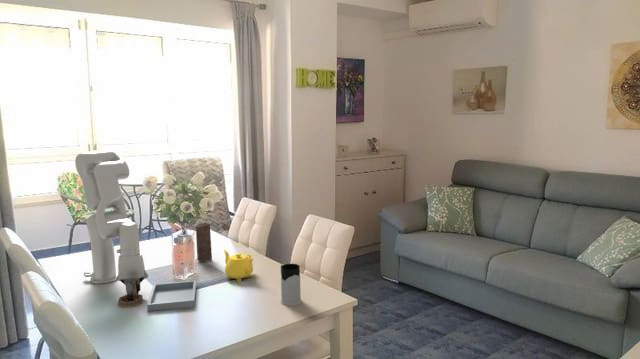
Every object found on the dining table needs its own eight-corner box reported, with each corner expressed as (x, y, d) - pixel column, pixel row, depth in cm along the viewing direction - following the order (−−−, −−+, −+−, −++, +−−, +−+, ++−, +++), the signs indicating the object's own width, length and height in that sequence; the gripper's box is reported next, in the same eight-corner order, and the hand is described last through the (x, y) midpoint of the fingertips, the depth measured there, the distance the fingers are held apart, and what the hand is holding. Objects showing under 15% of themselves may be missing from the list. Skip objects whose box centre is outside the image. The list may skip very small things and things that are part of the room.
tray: (147, 312, 188) (146, 304, 188) (154, 290, 210) (153, 284, 209) (194, 307, 192) (194, 300, 192) (196, 286, 213) (196, 280, 213)
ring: (116, 308, 192) (115, 291, 191) (123, 293, 206) (122, 278, 205) (140, 306, 194) (139, 289, 193) (145, 291, 208) (144, 276, 207)
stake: (123, 305, 194) (121, 281, 193) (125, 300, 199) (123, 277, 198) (136, 304, 195) (134, 280, 194) (138, 299, 200) (136, 276, 199)
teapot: (267, 276, 225) (266, 253, 223) (244, 286, 213) (243, 261, 212) (237, 267, 237) (236, 245, 235) (214, 276, 225) (213, 253, 224)
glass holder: (285, 307, 191) (284, 271, 189) (272, 295, 203) (271, 261, 201) (305, 303, 195) (304, 268, 192) (291, 291, 207) (290, 258, 205)
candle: (208, 263, 243) (206, 225, 240) (194, 263, 245) (192, 225, 241) (214, 258, 251) (212, 221, 247) (201, 258, 252) (199, 221, 249)
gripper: (107, 255, 196) (111, 298, 200) (149, 252, 200) (152, 294, 203) (111, 250, 204) (115, 291, 207) (151, 247, 207) (154, 287, 210)
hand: (133, 292), depth 205 cm, fingers closed on ring, 2 cm apart
